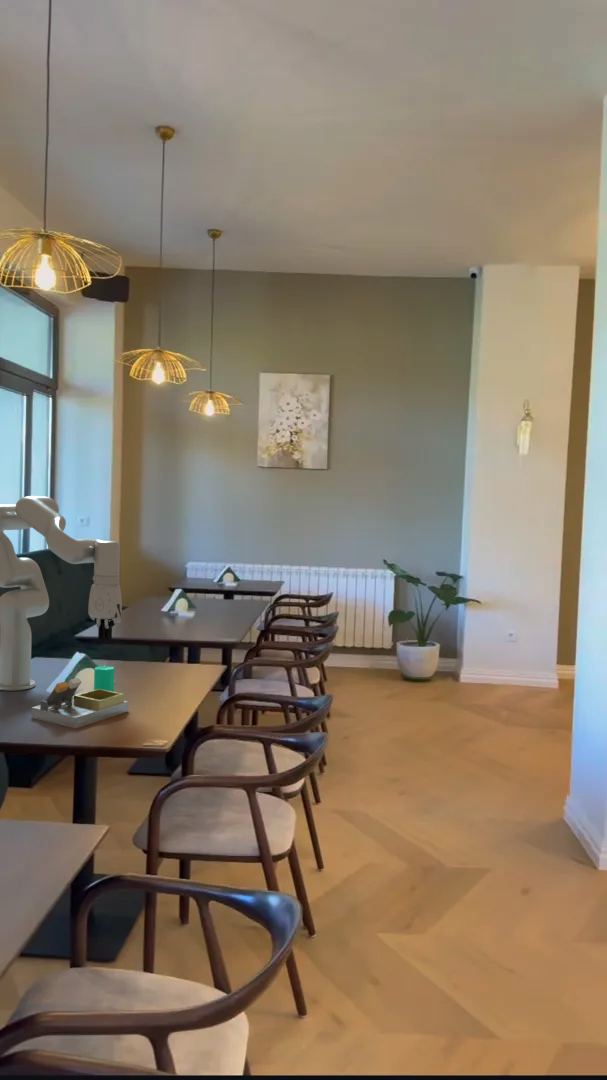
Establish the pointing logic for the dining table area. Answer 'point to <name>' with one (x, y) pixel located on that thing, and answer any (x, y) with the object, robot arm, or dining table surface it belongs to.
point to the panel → (82, 708)
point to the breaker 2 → (70, 690)
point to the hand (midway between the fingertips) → (104, 639)
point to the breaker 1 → (57, 693)
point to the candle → (104, 678)
